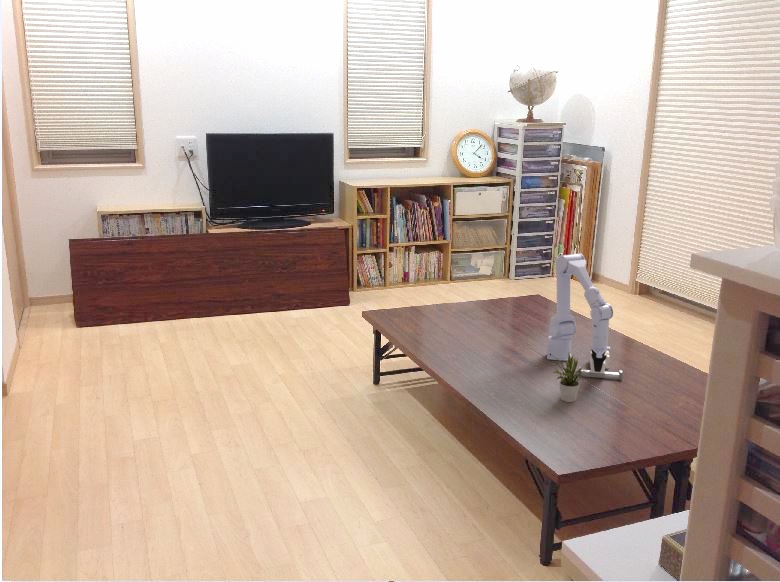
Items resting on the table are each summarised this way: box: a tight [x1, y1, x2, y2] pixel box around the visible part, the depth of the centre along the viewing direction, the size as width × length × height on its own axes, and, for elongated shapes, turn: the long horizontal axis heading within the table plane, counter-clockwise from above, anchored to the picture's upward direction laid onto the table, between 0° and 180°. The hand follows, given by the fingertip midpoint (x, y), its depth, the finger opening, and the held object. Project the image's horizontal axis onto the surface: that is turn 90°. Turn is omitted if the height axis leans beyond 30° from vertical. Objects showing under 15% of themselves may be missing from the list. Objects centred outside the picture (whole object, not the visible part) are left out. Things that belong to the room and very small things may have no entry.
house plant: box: [551, 352, 586, 403], centre depth 250 cm, size 14×14×16 cm
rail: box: [577, 365, 623, 381], centre depth 271 cm, size 16×3×3 cm, turn 75°
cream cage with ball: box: [589, 350, 610, 370], centre depth 282 cm, size 7×7×5 cm
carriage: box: [590, 359, 606, 379], centre depth 270 cm, size 5×4×6 cm
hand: (597, 369), depth 270 cm, fingers closed on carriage, 4 cm apart
